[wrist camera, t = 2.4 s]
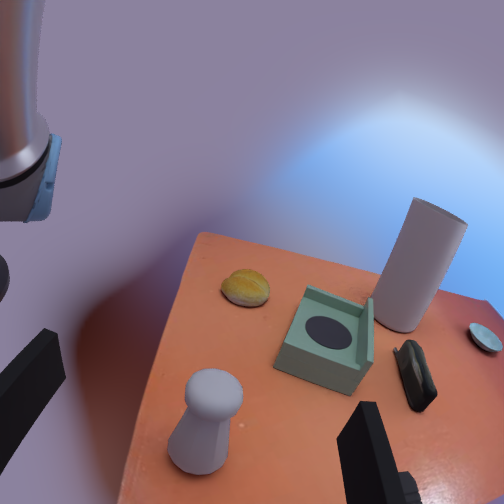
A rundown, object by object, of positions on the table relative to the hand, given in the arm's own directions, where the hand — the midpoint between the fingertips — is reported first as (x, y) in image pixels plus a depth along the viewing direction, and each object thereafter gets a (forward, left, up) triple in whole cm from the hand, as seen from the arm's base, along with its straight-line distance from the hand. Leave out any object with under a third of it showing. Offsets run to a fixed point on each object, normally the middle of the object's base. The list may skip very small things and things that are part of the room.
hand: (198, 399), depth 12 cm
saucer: (+51, +57, -20) cm, 79 cm away
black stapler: (+24, +33, -20) cm, 45 cm away
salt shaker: (-1, +7, -20) cm, 21 cm away
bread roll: (-8, +40, -20) cm, 45 cm away
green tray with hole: (+8, +34, -20) cm, 40 cm away
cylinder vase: (+22, +53, -20) cm, 61 cm away
